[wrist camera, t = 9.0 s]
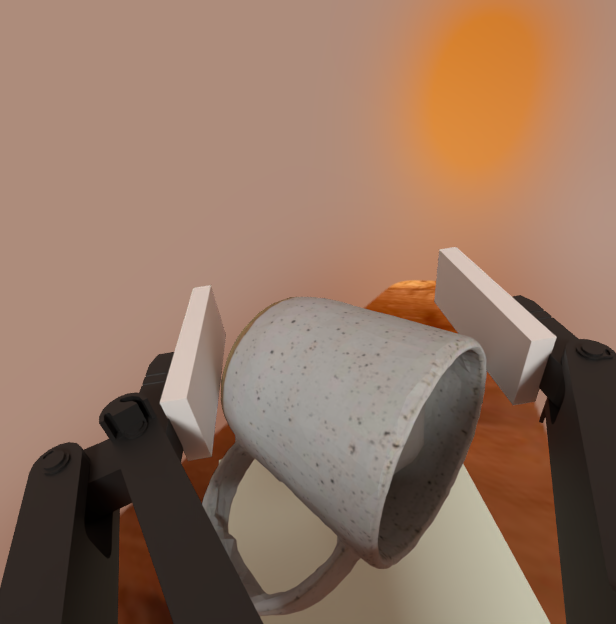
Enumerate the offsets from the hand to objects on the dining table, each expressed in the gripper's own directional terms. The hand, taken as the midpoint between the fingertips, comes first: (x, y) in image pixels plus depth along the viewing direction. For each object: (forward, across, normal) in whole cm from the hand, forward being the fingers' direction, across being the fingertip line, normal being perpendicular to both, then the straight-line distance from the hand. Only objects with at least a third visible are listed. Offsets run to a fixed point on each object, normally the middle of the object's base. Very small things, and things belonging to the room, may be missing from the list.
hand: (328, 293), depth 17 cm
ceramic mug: (-5, -1, -6) cm, 8 cm away
